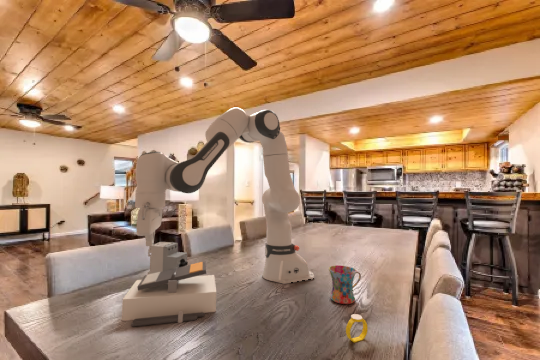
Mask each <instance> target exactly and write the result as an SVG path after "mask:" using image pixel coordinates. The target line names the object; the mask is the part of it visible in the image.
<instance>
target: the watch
mask: <svg viewBox="0 0 540 360" xmlns="http://www.w3.org/2000/svg"><path fill="white" fill-rule="evenodd" d="M355 323H362V330H361V333H360V334H359V336H356V337H352V336H351V329H352V328H353V324H355ZM368 328H369V327H368V323H367V321H366V320H365V319H364V318H363V317H362V315H361V314H356V313H354V314H351V315H350V319H349V320H348V322H347V324H346V326H345V334H346V338H347V339H349V340H350V341H351V342H353V343H354V344H355V343H357V342H360V341H364V339H365V338H366V337H367V335H368V330H369V329H368Z"/></svg>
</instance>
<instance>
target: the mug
mask: <svg viewBox="0 0 540 360" xmlns="http://www.w3.org/2000/svg"><path fill="white" fill-rule="evenodd" d="M328 271H329V274H330V277H331V284H332V285H331V292H330V294H329V298H330V300H331V301H333V302H335V303H338V304H341V305H349V304H353V303H354V302H355V301H356V297H355V295H354V289H353V288H355V287H356V286H357V285H358V284H359V282H361V278H362V275H361V273H360V272H359V271H357V269H355V268H354V267H351V266H346V265H339V264H338V265H331V266H329V267H328ZM356 274H358V275H359V276H358V279H357V280H356V282H355V283H354V280H355V276H356ZM353 283H354V284H353Z"/></svg>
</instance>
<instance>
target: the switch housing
mask: <svg viewBox="0 0 540 360" xmlns="http://www.w3.org/2000/svg"><path fill="white" fill-rule="evenodd" d="M141 281H142V279H136V280H135V282H134V283H133V285H132V286H131V287H130V289H129V290H128V292H127V293H126V294H125V295H124V297H123V298H122V306H121V308H122V309H121V322H127V321H133V320H134V319H138V318H148V317H158V316H168V315H178V314H179V311H183V314H188V313H198V312H204V314H205V313H215V312H217V288H216V287H217V285H216V277H215V274H208V275H207V274H204V275H199V276H195V277H191V278H187V279H183V280H179V281H177V280H169V281H168V283H167V284H163V285H159V286H155V287H151V288H147V289H143V290H138V287H137V286H138V285H139V284H140V282H141Z"/></svg>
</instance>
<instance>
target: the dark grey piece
mask: <svg viewBox="0 0 540 360" xmlns="http://www.w3.org/2000/svg"><path fill="white" fill-rule="evenodd" d="M204 316H205V313H204V312H198V313H188V314H183V311H179V314H178V315H168V316H158V317H148V318H138V319H134V320H132V322H131V327H133V328H134V327H142V326H151V325H152V326H153V325H161V324H169V323H170V324H171V323H177V324H181V323H184V322H189V321H190V322H191V321H196V320H197V319H198V318H202V317H203V318H204Z"/></svg>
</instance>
